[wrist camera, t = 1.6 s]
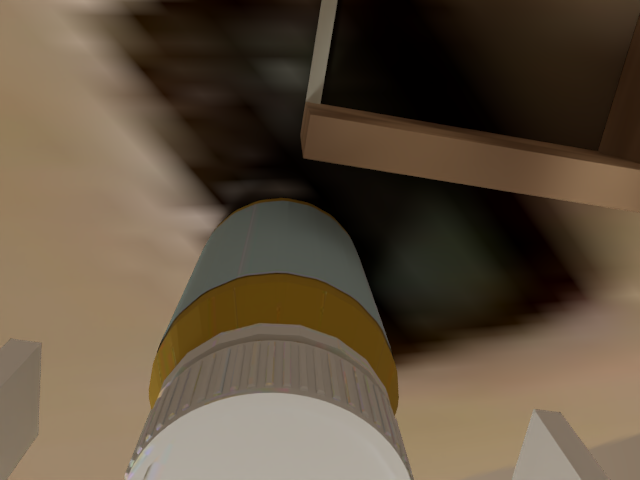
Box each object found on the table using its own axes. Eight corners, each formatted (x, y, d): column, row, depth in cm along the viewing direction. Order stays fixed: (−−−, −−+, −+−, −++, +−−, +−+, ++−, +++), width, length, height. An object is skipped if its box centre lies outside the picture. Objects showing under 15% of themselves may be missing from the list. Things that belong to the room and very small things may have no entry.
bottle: (322, 168, 25) (364, 315, 11) (381, 307, 27) (482, 584, 13) (174, 232, 26) (29, 452, 11) (243, 363, 28) (193, 689, 13)
